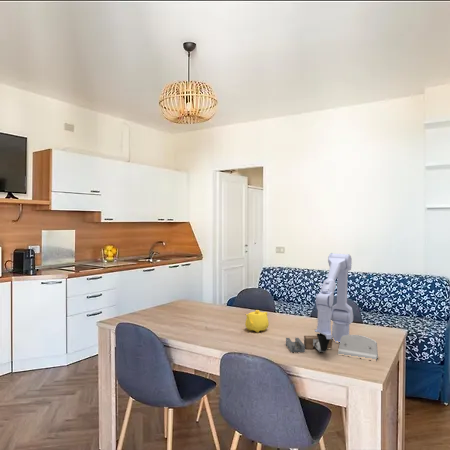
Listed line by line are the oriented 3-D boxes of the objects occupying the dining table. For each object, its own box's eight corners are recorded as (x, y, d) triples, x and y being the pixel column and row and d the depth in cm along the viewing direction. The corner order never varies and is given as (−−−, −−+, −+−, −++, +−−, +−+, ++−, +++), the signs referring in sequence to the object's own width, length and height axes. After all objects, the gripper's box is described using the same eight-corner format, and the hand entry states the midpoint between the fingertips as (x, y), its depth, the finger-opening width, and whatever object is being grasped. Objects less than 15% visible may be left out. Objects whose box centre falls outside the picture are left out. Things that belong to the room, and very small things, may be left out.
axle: (311, 346, 182) (311, 337, 182) (320, 345, 182) (319, 337, 182) (318, 353, 172) (317, 344, 172) (327, 352, 172) (326, 343, 172)
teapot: (252, 336, 196) (253, 315, 196) (237, 331, 204) (237, 311, 204) (274, 329, 209) (274, 309, 209) (258, 325, 217) (259, 306, 217)
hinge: (336, 354, 170) (338, 331, 173) (338, 355, 174) (340, 332, 177) (377, 361, 162) (378, 337, 165) (378, 362, 166) (379, 338, 169)
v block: (285, 344, 183) (285, 337, 183) (298, 344, 184) (298, 337, 184) (291, 352, 171) (291, 345, 171) (304, 352, 172) (304, 345, 172)
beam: (303, 346, 181) (304, 335, 181) (328, 346, 182) (329, 335, 182) (306, 349, 177) (306, 338, 177) (331, 349, 178) (331, 338, 178)
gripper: (310, 316, 178) (310, 345, 178) (320, 324, 163) (319, 356, 163) (325, 316, 178) (325, 345, 178) (336, 324, 163) (336, 356, 164)
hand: (323, 350), depth 171 cm, fingers closed
